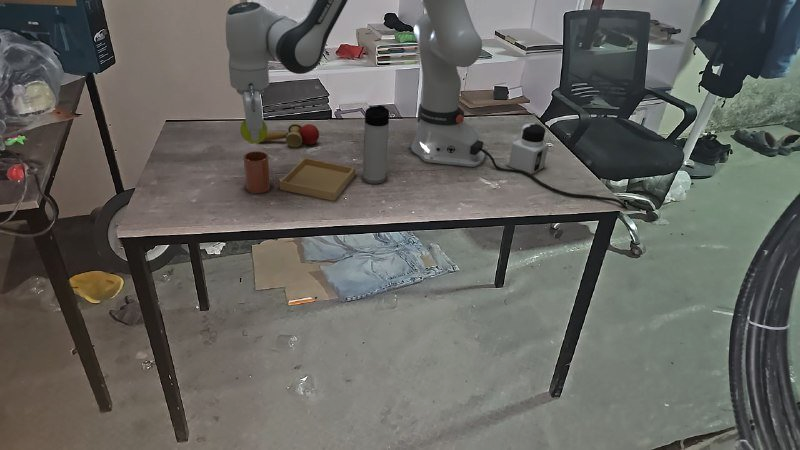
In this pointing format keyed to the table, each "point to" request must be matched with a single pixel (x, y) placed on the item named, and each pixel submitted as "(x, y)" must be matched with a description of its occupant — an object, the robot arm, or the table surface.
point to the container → (529, 149)
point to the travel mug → (375, 144)
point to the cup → (257, 172)
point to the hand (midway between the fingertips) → (253, 132)
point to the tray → (318, 179)
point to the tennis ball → (247, 134)
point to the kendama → (296, 135)
